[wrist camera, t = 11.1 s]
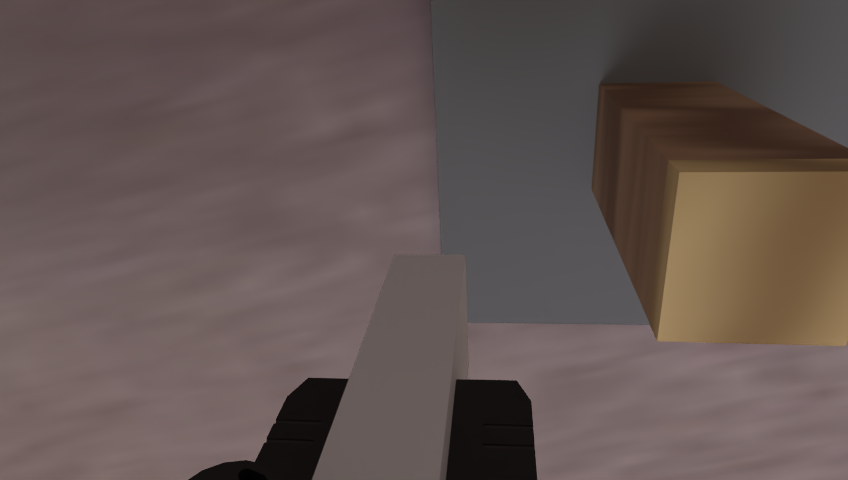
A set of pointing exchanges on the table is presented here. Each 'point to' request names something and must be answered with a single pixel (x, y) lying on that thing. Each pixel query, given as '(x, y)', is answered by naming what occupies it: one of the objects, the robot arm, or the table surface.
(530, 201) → the mat
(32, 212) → the table surface
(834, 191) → the post
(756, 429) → the table surface
